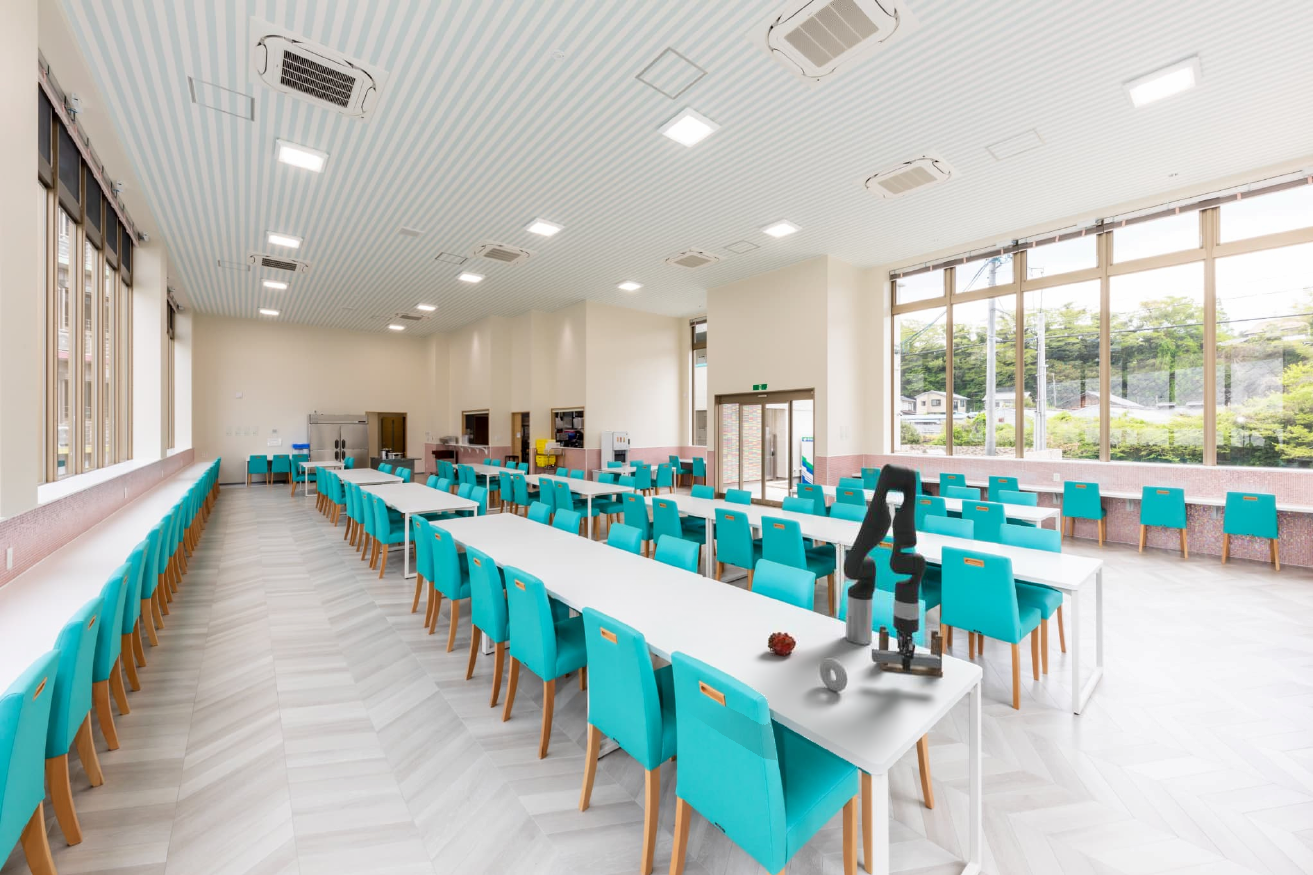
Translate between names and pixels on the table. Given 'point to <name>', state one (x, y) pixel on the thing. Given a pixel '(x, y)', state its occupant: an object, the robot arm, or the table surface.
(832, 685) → the donut
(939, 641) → the walnut stand
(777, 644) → the red bumpy oval lump
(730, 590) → the table surface
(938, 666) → the steel bar
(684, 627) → the table surface
